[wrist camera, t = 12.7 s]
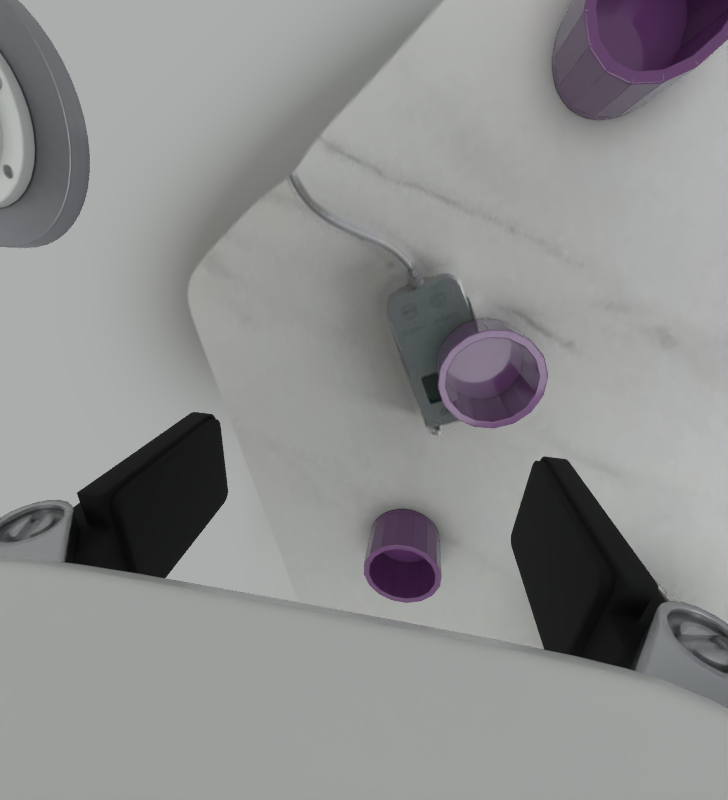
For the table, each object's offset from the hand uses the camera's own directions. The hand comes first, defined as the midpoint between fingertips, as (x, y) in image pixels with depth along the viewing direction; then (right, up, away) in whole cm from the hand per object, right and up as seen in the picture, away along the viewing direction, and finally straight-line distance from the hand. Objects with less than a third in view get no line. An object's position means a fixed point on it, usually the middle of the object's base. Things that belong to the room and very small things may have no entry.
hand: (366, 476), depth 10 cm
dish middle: (+9, +5, +16) cm, 19 cm away
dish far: (+4, -11, +23) cm, 26 cm away
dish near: (+14, +21, +8) cm, 27 cm away
